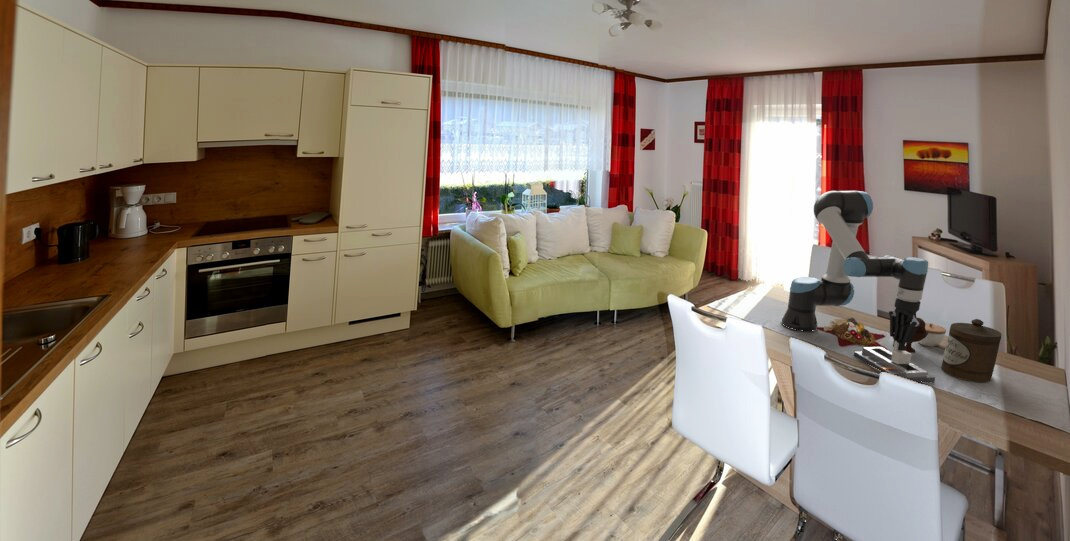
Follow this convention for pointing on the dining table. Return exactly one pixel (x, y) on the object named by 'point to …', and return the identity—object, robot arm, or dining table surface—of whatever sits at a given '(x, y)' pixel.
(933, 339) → the lidded jar
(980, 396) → the dining table surface
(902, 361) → the fader knob
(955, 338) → the wooden container
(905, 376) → the fader console
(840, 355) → the dining table surface
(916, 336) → the ice cream bowl
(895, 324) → the robot arm
